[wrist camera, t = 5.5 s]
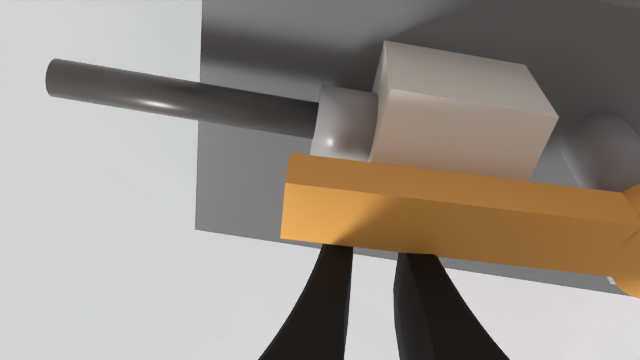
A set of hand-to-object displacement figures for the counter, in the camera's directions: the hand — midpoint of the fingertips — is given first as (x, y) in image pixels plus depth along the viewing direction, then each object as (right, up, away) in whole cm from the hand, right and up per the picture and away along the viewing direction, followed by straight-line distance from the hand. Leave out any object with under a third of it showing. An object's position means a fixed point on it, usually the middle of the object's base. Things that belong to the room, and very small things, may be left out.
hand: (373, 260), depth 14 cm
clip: (+3, +1, -1) cm, 4 cm away
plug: (-2, +5, +2) cm, 5 cm away
